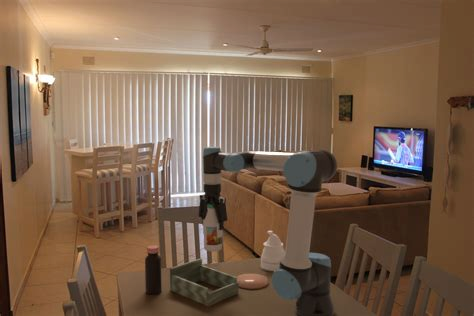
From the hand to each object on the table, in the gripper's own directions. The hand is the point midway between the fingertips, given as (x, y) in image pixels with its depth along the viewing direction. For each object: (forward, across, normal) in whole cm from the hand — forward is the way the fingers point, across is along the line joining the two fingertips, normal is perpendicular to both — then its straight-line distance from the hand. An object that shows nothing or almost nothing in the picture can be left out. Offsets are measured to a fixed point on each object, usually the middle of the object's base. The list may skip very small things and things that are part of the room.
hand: (212, 235), depth 196 cm
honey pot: (+25, -1, -42) cm, 49 cm away
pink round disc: (+25, -6, -18) cm, 31 cm away
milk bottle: (+6, 0, 0) cm, 6 cm away
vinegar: (+25, +18, +18) cm, 36 cm away
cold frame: (+25, +2, +4) cm, 25 cm away
